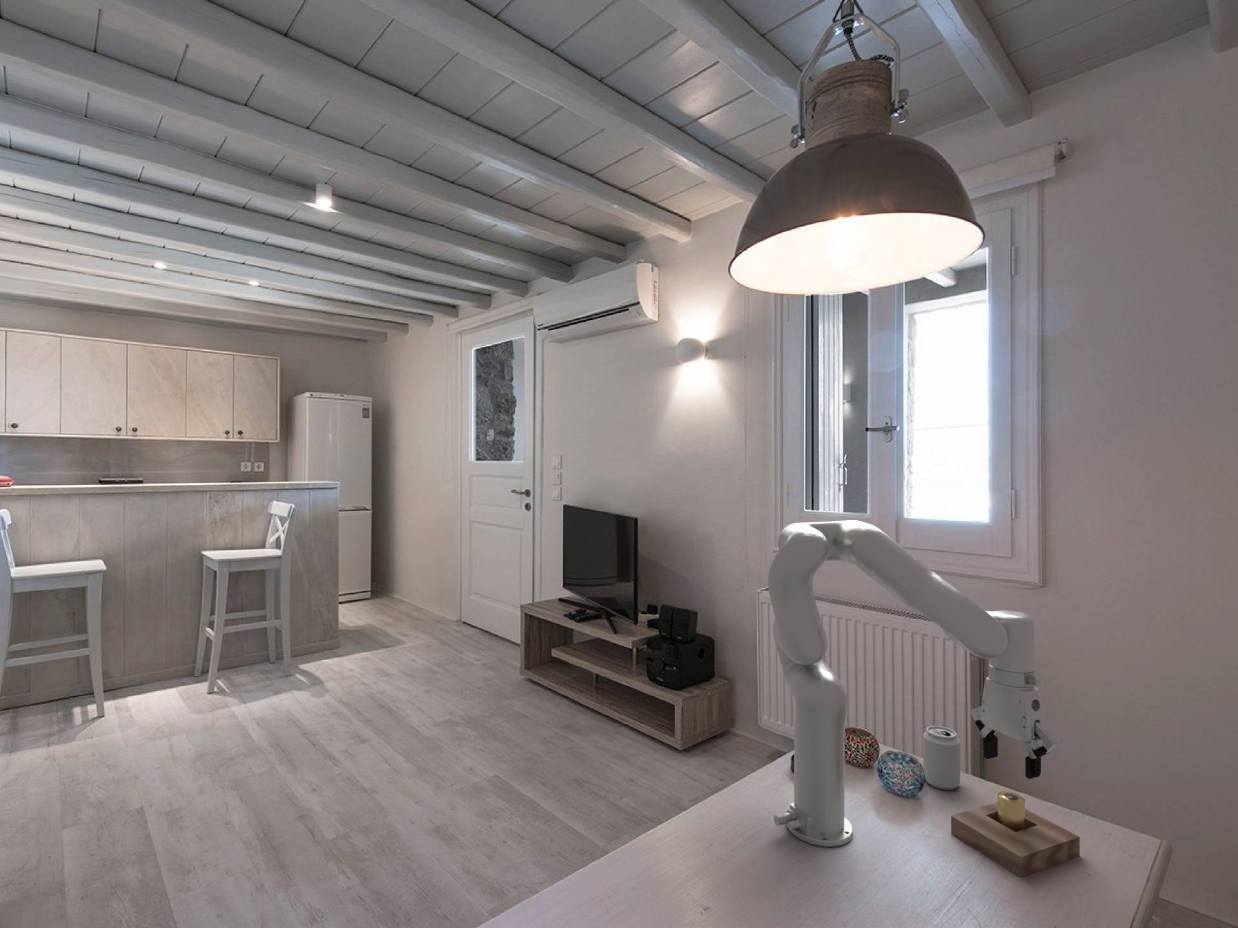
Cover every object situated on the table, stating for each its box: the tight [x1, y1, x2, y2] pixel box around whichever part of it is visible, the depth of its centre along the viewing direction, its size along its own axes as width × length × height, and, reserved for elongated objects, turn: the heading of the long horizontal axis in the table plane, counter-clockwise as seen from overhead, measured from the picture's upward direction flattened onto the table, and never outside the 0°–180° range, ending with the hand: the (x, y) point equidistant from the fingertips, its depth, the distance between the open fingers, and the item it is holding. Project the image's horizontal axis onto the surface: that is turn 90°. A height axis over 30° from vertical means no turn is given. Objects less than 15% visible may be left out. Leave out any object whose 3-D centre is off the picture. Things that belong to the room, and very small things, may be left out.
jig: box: [950, 801, 1081, 878], centre depth 118 cm, size 16×14×4 cm
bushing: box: [997, 790, 1026, 832], centre depth 120 cm, size 4×4×8 cm
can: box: [922, 725, 961, 791], centre depth 141 cm, size 8×8×12 cm
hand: (1011, 766), depth 120 cm, fingers open, 7 cm apart
